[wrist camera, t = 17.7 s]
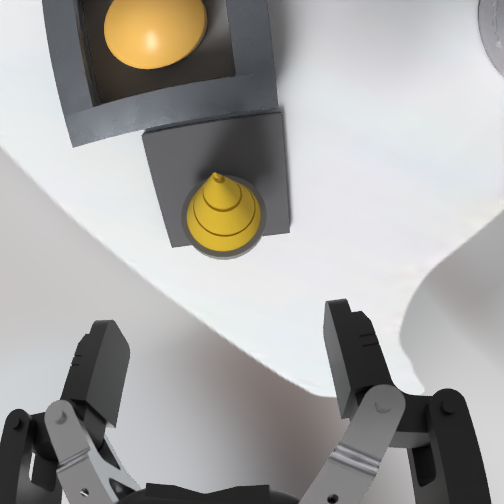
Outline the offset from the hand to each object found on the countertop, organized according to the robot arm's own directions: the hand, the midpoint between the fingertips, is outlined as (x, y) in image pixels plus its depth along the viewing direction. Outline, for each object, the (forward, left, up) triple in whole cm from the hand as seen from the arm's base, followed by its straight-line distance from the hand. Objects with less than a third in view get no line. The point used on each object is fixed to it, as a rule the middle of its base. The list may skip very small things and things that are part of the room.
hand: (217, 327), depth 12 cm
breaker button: (+2, -11, -13) cm, 17 cm away
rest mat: (0, 0, -13) cm, 13 cm away
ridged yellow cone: (0, 0, -13) cm, 13 cm away
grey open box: (+2, -11, -13) cm, 17 cm away
